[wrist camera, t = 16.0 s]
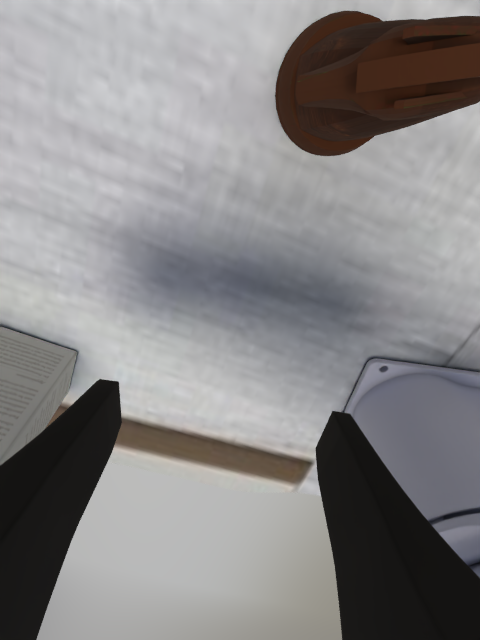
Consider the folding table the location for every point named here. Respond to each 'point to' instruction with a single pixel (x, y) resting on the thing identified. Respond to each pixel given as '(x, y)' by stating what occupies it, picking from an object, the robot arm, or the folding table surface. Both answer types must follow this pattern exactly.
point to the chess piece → (374, 77)
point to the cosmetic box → (29, 387)
